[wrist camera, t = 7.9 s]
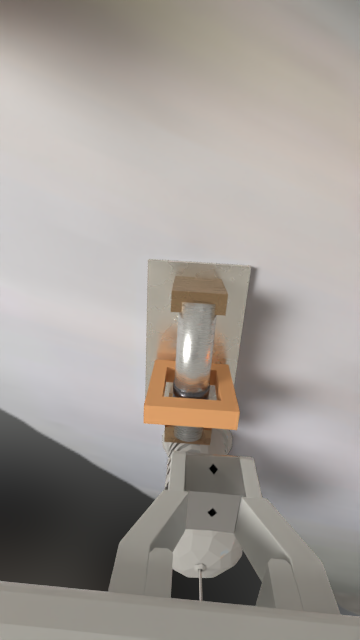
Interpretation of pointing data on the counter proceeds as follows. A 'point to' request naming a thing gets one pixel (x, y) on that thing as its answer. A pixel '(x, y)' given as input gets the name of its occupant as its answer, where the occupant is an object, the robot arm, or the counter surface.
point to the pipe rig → (194, 329)
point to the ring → (191, 400)
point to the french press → (204, 545)
